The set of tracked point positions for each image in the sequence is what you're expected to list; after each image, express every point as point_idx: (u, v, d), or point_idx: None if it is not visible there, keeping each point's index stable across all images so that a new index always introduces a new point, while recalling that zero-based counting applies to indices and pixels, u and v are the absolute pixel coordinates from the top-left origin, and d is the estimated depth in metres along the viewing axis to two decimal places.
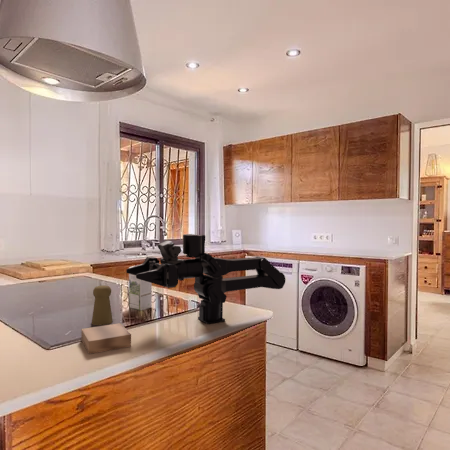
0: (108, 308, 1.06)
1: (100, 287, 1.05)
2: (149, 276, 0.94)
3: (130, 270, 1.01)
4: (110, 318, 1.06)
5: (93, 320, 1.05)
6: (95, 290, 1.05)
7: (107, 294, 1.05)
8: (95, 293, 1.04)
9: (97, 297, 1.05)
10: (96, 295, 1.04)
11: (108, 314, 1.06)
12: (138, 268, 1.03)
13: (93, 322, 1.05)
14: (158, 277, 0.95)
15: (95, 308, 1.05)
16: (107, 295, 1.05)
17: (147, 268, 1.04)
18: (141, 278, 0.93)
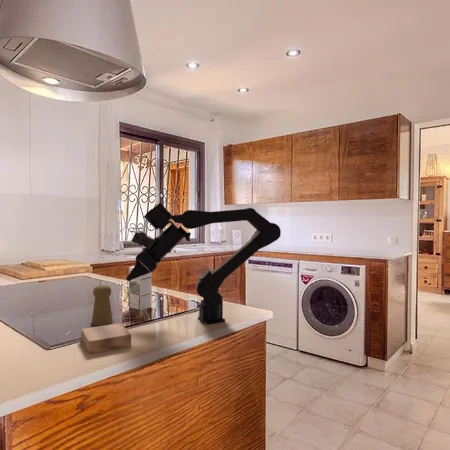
0: (108, 308, 1.06)
1: (100, 287, 1.05)
2: (135, 273, 1.02)
3: None
4: (110, 318, 1.06)
5: (93, 320, 1.05)
6: (95, 290, 1.05)
7: (107, 294, 1.05)
8: (95, 293, 1.04)
9: (97, 297, 1.05)
10: (96, 295, 1.04)
11: (108, 314, 1.06)
12: None
13: (93, 322, 1.05)
14: (142, 268, 1.02)
15: (95, 308, 1.05)
16: (107, 295, 1.05)
17: None
18: (131, 278, 1.02)
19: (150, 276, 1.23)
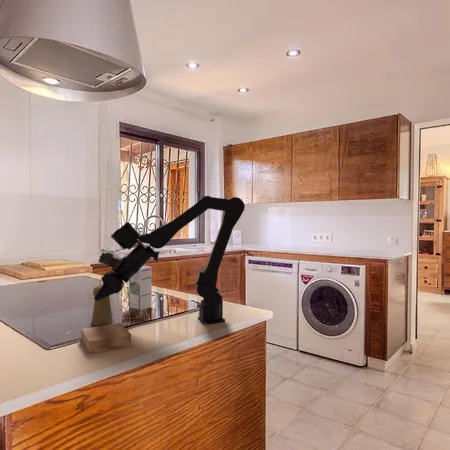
0: (108, 308, 1.06)
1: (100, 287, 1.05)
2: (102, 292, 1.03)
3: None
4: (110, 318, 1.06)
5: (93, 320, 1.05)
6: (95, 290, 1.05)
7: None
8: (95, 293, 1.04)
9: None
10: None
11: (108, 314, 1.06)
12: None
13: (93, 322, 1.05)
14: (109, 288, 1.03)
15: (95, 308, 1.05)
16: None
17: None
18: (99, 298, 1.03)
19: (150, 276, 1.23)
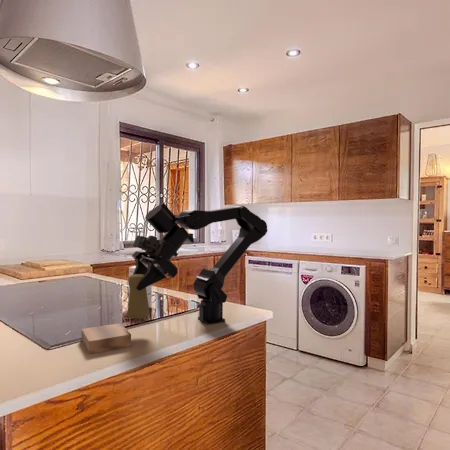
0: (147, 298, 0.96)
1: (139, 276, 0.95)
2: (147, 280, 0.93)
3: None
4: (148, 308, 0.97)
5: (133, 313, 0.94)
6: (135, 279, 0.93)
7: None
8: (135, 283, 0.93)
9: None
10: (137, 285, 0.93)
11: None
12: None
13: (134, 315, 0.93)
14: (154, 274, 0.94)
15: (135, 299, 0.94)
16: None
17: (143, 267, 1.00)
18: (142, 287, 0.93)
19: None
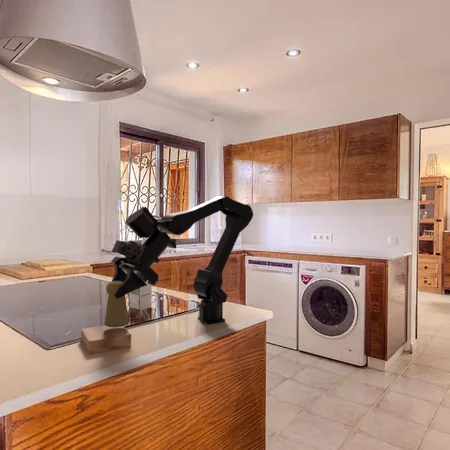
0: (126, 306, 0.92)
1: (118, 283, 0.90)
2: (126, 288, 0.89)
3: None
4: (127, 317, 0.92)
5: (111, 322, 0.89)
6: (113, 287, 0.89)
7: None
8: (114, 290, 0.89)
9: None
10: (115, 292, 0.89)
11: None
12: None
13: (112, 324, 0.89)
14: (134, 282, 0.90)
15: (113, 308, 0.89)
16: None
17: (123, 273, 0.95)
18: (121, 295, 0.89)
19: None
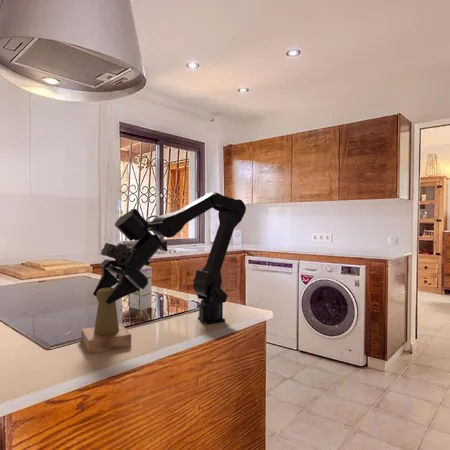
0: (116, 314, 0.90)
1: (108, 289, 0.89)
2: (118, 293, 0.86)
3: None
4: (118, 325, 0.91)
5: (101, 330, 0.87)
6: (103, 293, 0.87)
7: None
8: (104, 297, 0.87)
9: None
10: (105, 299, 0.87)
11: (117, 320, 0.90)
12: (102, 284, 0.94)
13: (101, 332, 0.87)
14: (126, 286, 0.87)
15: (103, 315, 0.88)
16: None
17: (110, 276, 0.95)
18: (113, 300, 0.85)
19: (150, 276, 1.23)
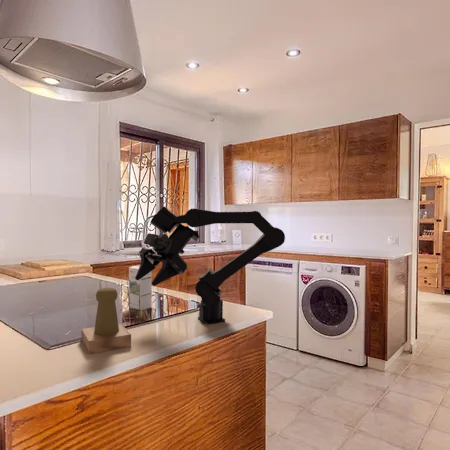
0: (116, 314, 0.90)
1: (107, 290, 0.88)
2: (162, 276, 0.99)
3: (138, 276, 1.05)
4: None
5: (101, 330, 0.87)
6: (103, 294, 0.87)
7: (116, 297, 0.90)
8: (103, 297, 0.87)
9: (105, 302, 0.88)
10: (105, 300, 0.87)
11: (117, 320, 0.90)
12: (142, 269, 1.07)
13: (101, 332, 0.87)
14: (168, 271, 1.00)
15: (103, 315, 0.88)
16: (116, 298, 0.90)
17: (148, 262, 1.08)
18: (157, 283, 0.99)
19: (150, 276, 1.23)
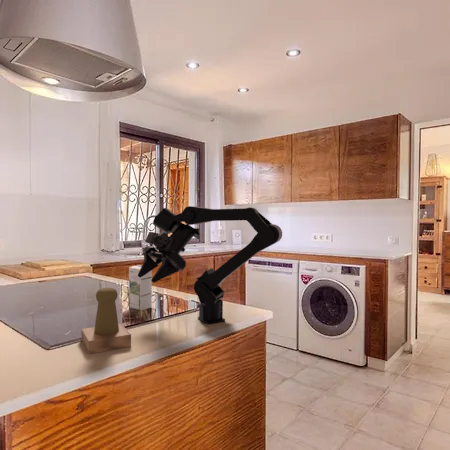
0: (116, 314, 0.90)
1: (107, 290, 0.88)
2: (161, 273, 1.02)
3: (141, 273, 1.09)
4: None
5: (101, 330, 0.87)
6: (103, 294, 0.87)
7: (116, 297, 0.90)
8: (103, 297, 0.87)
9: (106, 302, 0.88)
10: (105, 300, 0.87)
11: (117, 320, 0.90)
12: (145, 267, 1.10)
13: (101, 332, 0.87)
14: (168, 268, 1.03)
15: (103, 315, 0.88)
16: (116, 298, 0.90)
17: (151, 260, 1.11)
18: (157, 279, 1.02)
19: (150, 276, 1.23)
